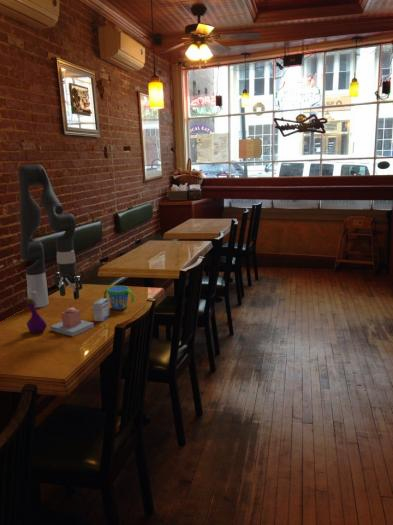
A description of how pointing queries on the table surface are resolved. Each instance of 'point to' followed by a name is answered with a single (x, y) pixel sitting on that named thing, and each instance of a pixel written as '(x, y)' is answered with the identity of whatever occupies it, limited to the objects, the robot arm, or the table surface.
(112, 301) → the snack cup
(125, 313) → the table surface
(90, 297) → the table surface
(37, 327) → the perfume bottle
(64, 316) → the knob
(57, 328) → the panel
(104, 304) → the medicine box
